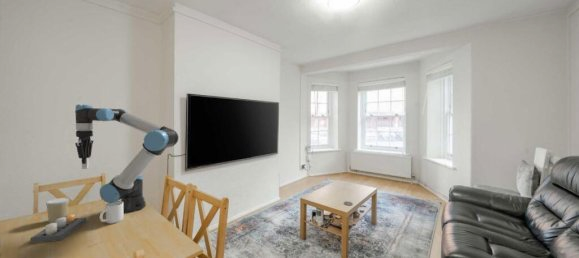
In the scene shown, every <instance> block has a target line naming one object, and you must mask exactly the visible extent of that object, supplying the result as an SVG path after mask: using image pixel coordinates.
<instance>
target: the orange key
mask: <svg viewBox="0 0 579 258" xmlns="http://www.w3.org/2000/svg"><path fill="white" fill-rule="evenodd" d="M75 216H76V215H75V213H71V214H68V215H66V216H65V217H66V223H72V222H74V221H75V218H76V217H75Z"/></svg>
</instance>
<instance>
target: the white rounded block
mask: <svg viewBox="0 0 579 258" xmlns="http://www.w3.org/2000/svg"><path fill="white" fill-rule="evenodd" d="M44 228H45V230H46V236H47V235H54V234H56V233H57V223H48V224H45V227H44Z"/></svg>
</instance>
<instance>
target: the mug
mask: <svg viewBox="0 0 579 258" xmlns="http://www.w3.org/2000/svg"><path fill="white" fill-rule="evenodd" d="M124 213H125V212H124V209H123V202H122V201H121V200H118V201H116V202H113V203H107V204H105V208H104V209H102V210H101V211H100V213H99V220H100V222H103V223H104V222H105V223H107V224H111V225H112V224H117V223H120V222H121V221H123V220H124ZM104 214H105V218H104V217H103V216H104Z"/></svg>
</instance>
